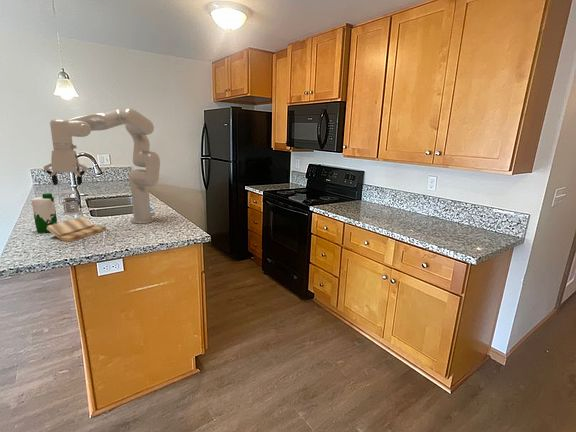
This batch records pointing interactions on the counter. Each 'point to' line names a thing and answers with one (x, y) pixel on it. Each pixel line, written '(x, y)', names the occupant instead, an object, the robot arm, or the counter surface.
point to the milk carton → (44, 212)
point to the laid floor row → (82, 233)
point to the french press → (70, 203)
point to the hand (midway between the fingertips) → (67, 184)
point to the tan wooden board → (69, 226)
